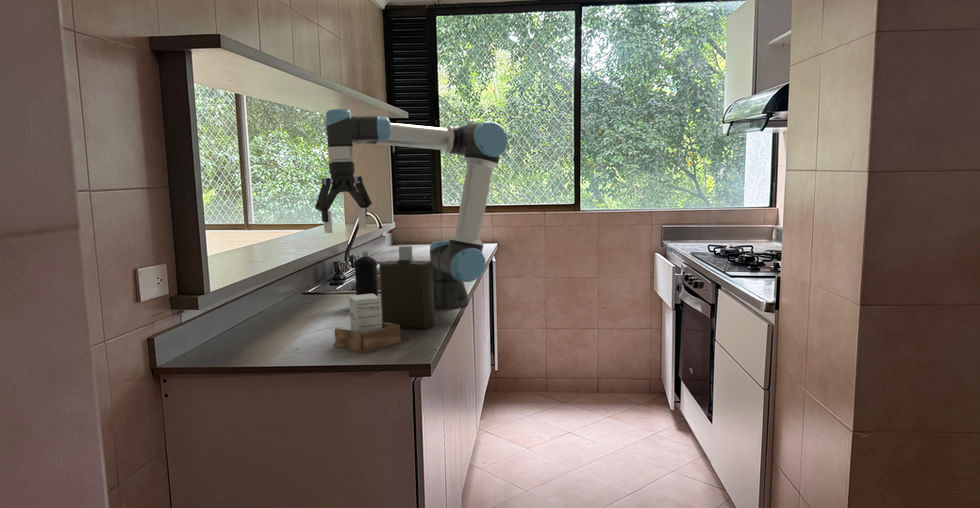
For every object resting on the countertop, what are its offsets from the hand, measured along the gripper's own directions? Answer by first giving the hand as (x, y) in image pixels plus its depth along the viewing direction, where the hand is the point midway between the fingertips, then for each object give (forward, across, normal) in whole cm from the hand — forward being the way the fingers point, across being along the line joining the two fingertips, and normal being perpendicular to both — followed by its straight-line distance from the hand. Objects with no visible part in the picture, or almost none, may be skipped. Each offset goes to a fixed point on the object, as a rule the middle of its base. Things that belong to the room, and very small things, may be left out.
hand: (346, 230), depth 200 cm
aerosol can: (+30, -24, -19) cm, 43 cm away
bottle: (+31, -9, +16) cm, 35 cm away
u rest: (+30, +13, +21) cm, 39 cm away
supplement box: (+29, +13, +21) cm, 38 cm away
